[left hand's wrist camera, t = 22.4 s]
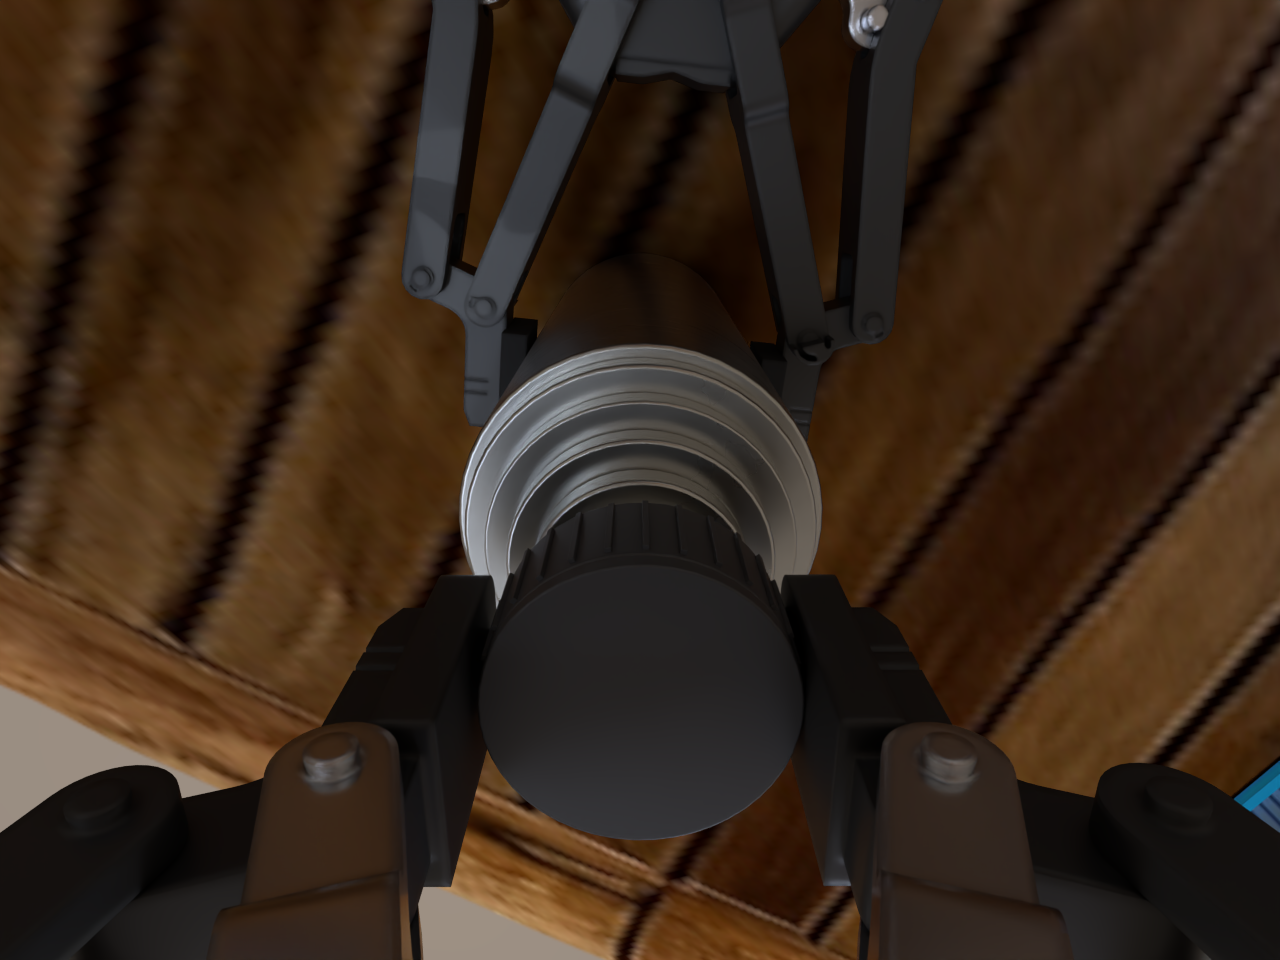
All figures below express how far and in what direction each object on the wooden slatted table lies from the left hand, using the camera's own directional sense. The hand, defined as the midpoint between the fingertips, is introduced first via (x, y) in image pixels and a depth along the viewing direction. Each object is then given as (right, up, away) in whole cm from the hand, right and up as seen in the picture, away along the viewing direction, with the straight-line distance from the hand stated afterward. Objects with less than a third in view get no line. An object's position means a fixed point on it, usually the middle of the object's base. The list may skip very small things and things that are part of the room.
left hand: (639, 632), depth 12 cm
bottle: (0, +7, +20) cm, 21 cm away
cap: (0, -1, -2) cm, 2 cm away
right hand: (0, +1, +16) cm, 16 cm away
